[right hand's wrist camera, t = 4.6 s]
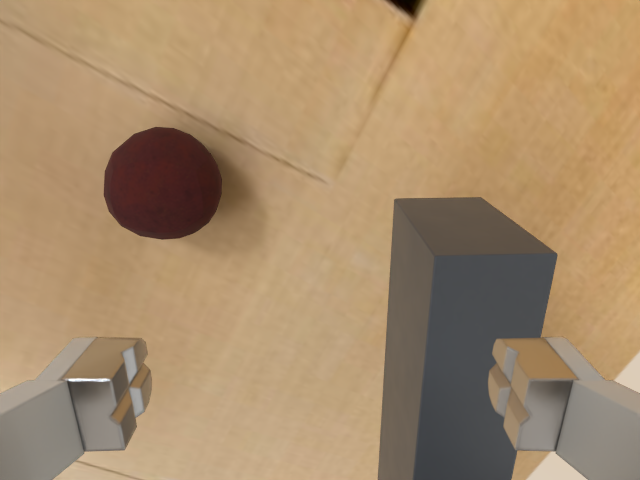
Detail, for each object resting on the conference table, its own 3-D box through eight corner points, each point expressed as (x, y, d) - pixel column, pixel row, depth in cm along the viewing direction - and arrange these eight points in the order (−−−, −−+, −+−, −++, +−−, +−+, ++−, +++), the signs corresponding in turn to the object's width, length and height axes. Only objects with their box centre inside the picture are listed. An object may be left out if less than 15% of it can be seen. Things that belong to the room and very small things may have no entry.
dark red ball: (233, 217, 35) (218, 252, 29) (133, 220, 35) (94, 257, 28) (224, 119, 32) (204, 134, 26) (114, 122, 32) (67, 138, 26)
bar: (394, 198, 26) (434, 256, 18) (481, 196, 26) (558, 253, 18) (377, 487, 34) (399, 612, 27) (443, 484, 35) (485, 607, 27)
